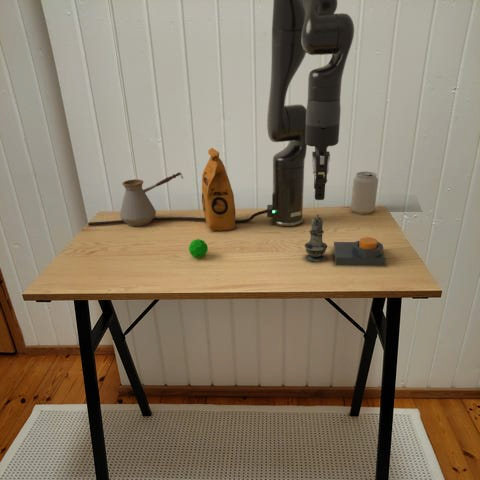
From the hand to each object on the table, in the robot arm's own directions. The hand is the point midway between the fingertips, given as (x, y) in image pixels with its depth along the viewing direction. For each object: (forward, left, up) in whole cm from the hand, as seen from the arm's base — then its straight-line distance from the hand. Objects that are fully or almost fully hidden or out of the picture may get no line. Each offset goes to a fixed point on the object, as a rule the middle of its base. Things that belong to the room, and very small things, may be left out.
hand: (318, 194), depth 110 cm
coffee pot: (-51, +27, -17) cm, 60 cm away
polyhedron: (-31, 0, -17) cm, 35 cm away
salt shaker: (0, 0, -17) cm, 17 cm away
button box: (+11, +1, -17) cm, 20 cm away
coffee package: (-29, +24, -17) cm, 41 cm away
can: (+16, +37, -17) cm, 44 cm away
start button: (+13, 0, -13) cm, 19 cm away
